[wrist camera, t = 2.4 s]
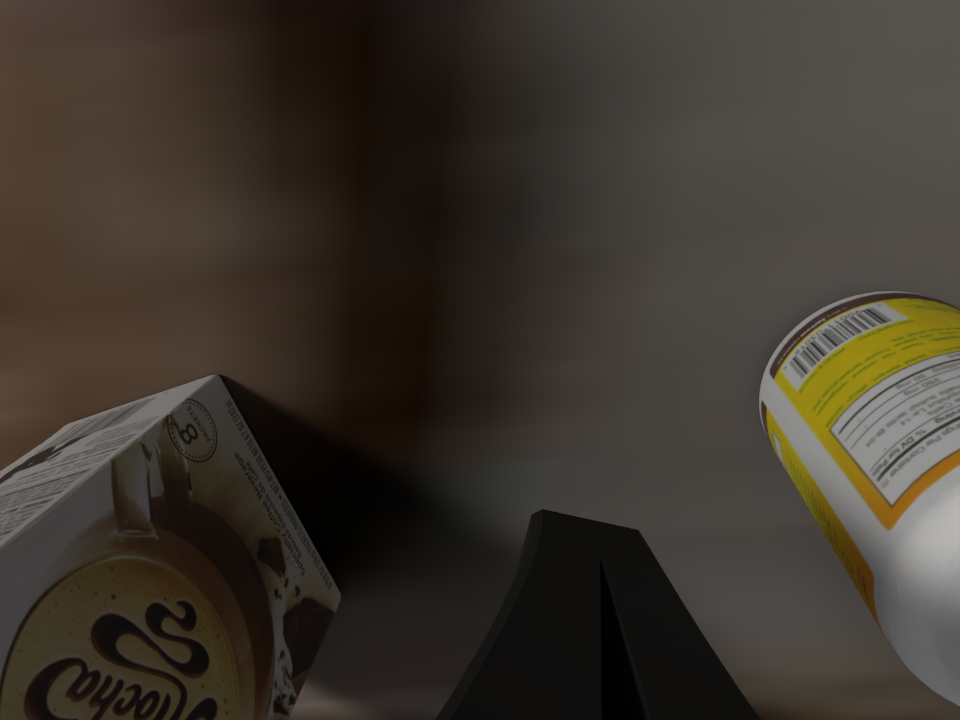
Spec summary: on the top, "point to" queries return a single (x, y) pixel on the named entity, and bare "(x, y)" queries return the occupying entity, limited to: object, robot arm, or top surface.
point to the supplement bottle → (881, 460)
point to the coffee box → (156, 570)
